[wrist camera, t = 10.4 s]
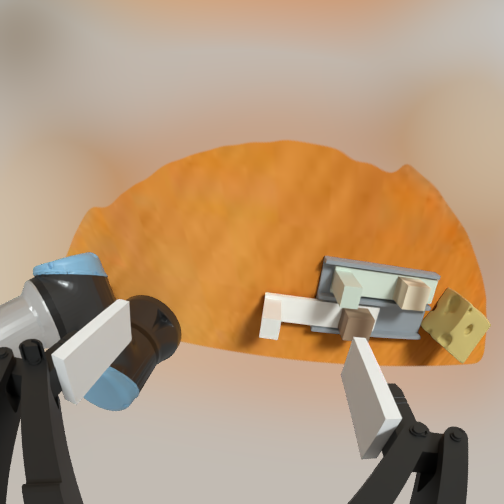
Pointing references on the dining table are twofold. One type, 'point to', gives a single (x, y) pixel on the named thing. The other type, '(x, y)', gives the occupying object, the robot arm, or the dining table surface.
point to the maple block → (411, 294)
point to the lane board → (376, 301)
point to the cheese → (456, 324)
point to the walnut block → (355, 323)
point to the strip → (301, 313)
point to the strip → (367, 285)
